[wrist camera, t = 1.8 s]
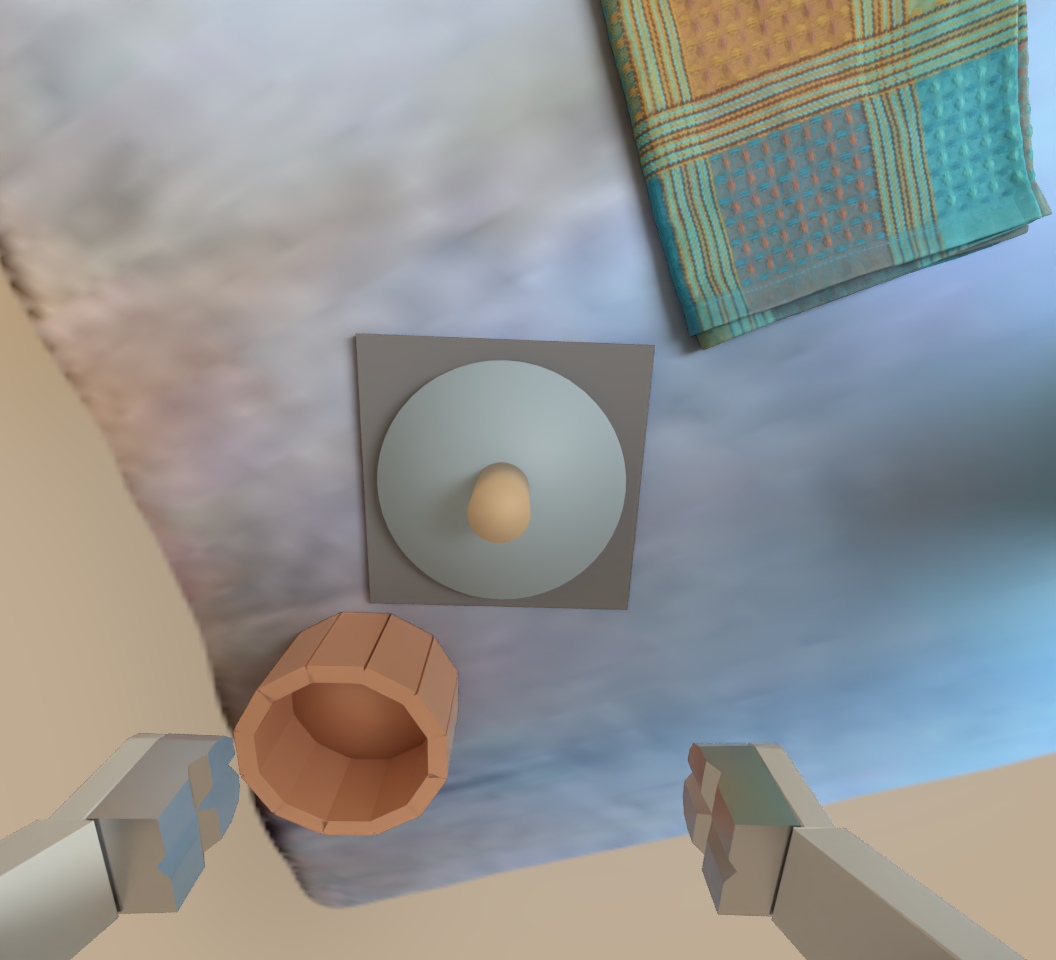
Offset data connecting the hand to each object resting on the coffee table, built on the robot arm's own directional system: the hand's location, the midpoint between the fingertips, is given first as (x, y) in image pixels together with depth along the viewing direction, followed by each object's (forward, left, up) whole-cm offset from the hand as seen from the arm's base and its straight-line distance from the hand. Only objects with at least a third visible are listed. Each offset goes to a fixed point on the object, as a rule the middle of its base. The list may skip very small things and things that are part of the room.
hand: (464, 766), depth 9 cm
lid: (0, 0, -18) cm, 18 cm away
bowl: (+8, +14, -19) cm, 25 cm away
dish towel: (-13, -21, -20) cm, 32 cm away
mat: (0, 0, -19) cm, 19 cm away
